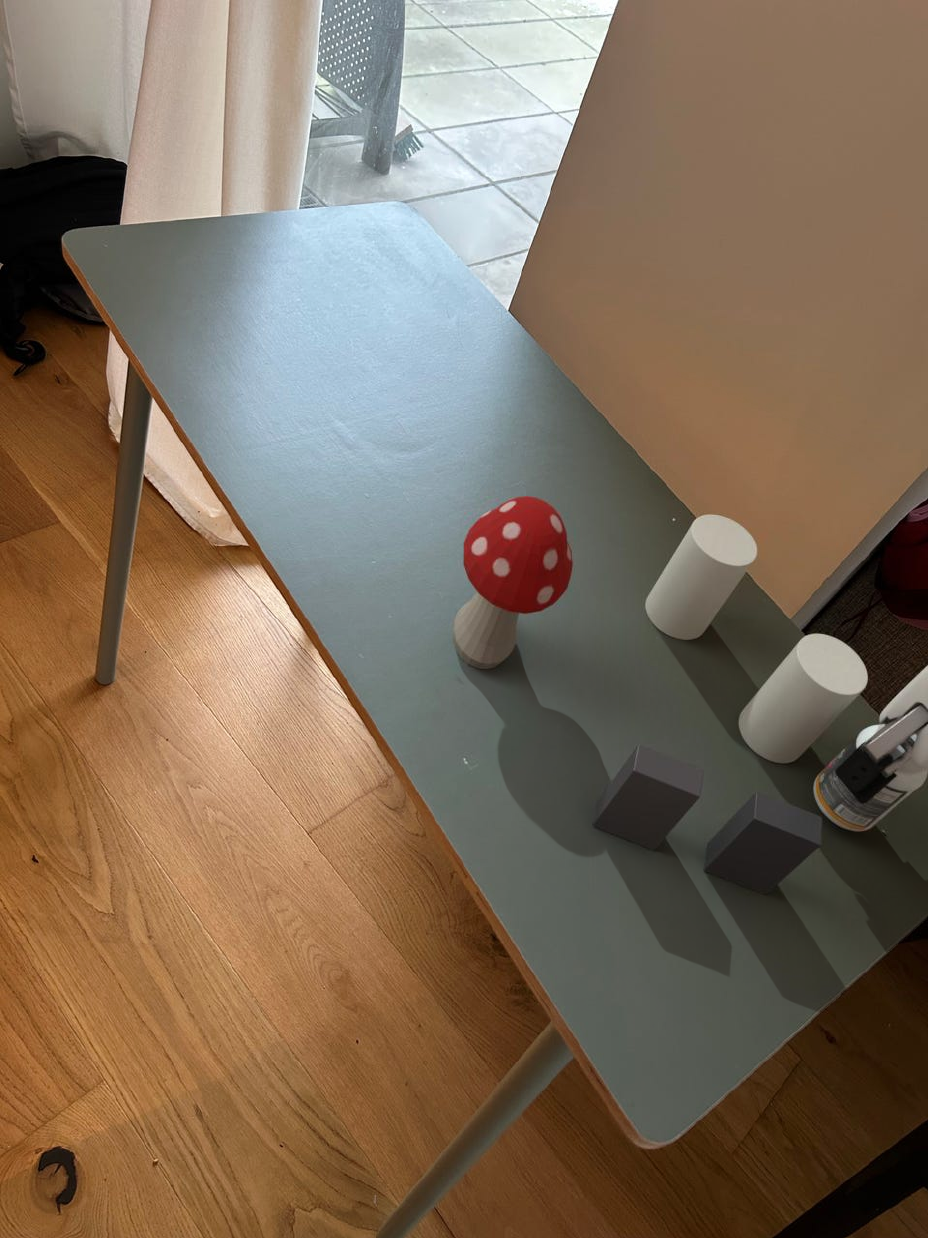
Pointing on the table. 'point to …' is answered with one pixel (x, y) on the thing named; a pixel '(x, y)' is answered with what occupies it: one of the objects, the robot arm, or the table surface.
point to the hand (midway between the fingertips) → (877, 771)
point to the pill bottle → (864, 816)
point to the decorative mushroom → (510, 576)
